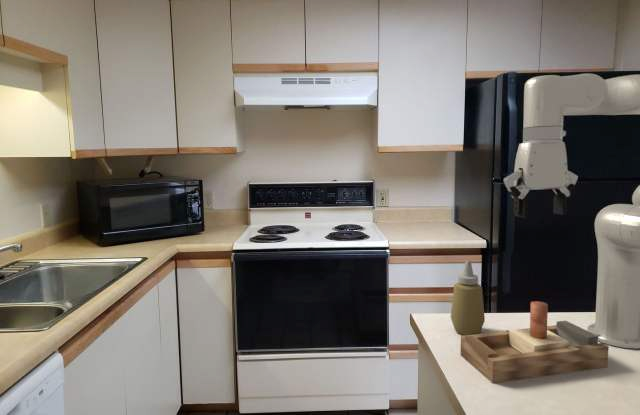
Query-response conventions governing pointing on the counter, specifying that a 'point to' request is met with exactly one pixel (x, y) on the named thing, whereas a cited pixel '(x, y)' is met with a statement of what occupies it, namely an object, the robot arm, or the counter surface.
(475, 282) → the squeeze bottle
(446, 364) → the counter surface
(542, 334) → the carriage
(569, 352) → the base
